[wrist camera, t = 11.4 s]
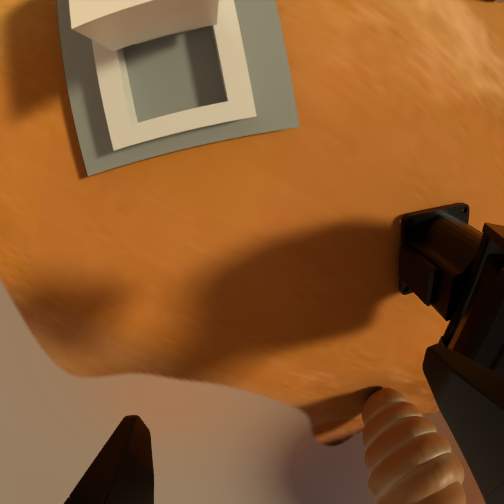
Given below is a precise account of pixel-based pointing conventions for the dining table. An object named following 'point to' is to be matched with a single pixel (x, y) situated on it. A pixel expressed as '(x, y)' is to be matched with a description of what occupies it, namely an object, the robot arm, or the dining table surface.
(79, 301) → the dining table surface
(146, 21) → the block
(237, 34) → the rail panel
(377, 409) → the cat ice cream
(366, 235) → the dining table surface
